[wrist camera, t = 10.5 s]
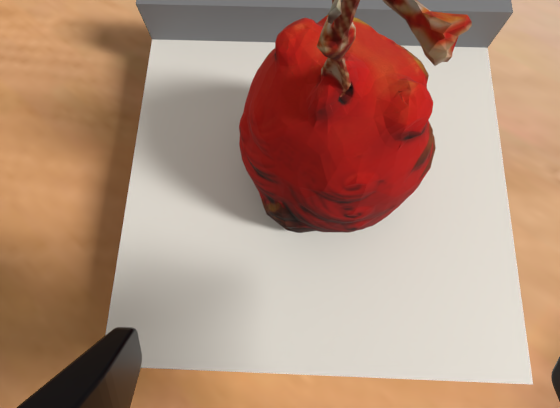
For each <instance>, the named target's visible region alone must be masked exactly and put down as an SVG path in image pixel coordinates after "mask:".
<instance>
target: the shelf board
mask: <svg viewBox="0 0 560 408" xmlns="http://www.w3.org/2000/svg"><path fill="white" fill-rule="evenodd" d="M417 1H418V2H420V3H421V4H422V5H423V6H425V7H426V8H427V9H429V10H430V11H433V12H442V13H451V14H467V15H468V16H469V18H470V19H471V21H472V26H471V27H470V29H469V30H468V31H466V32H464V33H463V34H461V35H459V37H458V39H457V42H456V44H455V47H454V50H453V52H452V57H451V59H450V60H449V61H448V62H441V63H440V64H438V65H436V66H434V65H433V64H432V62H431V61H430V60H429V59H428V58H427V57H426V56H425V54H424V52H423V49H422V47H421V45H420V43H419V41H418V40H417V38H416V37H415V35H414V34H413V32H412V31H411V29H410V27H409V26H408V24H407V22H406V20H405V19H403V18H402V17H401V16H400V15H398V14H397V13H396V12H395V11H394V10H392V9H391V8H390V7H389V6H387V5H386V4H385V3H384V2H383V1H382V0H360V2H359V5H358V7H357V10H356V13H355V16H354V17H355V18H358V19H360V20H362V21H363V22H365V23H367V24H368V25H370V26H371V27H372V28H373V29H374V30H375V31H376V32H378V33H379V34H381V35H384V36H385V37H387V38H388V39H391V40H393V41H394V42H395V43H396V44H398V45H400V46H402V47H404V48H405V49H407V50H408V51H409V52H411V53H412V54H413V55H414V56H415V57H417V58H418V59H419V60H420V61H421V62H422V64H423V65H424V67H425V69H426V71H427V72H428V74H429V77H428V81H427V90H428V91H429V93H430V95H431V98H432V100H433V109H432V114H431V116H430V118H429V123H430V125H431V127H432V129H433V135H434V139H435V147H436V149H435V153H434V156H433V160H432V164H431V168H430V170H429V171H428V172H427V174H426V175H425V177H424V178H423V180H422V182H421V183H420V185H419V187H418V188H417V189H416V190H415V191H414V193H412V194H411V195H410V196H409V197H408V198H407V199H406V200H405V201H404V202H403V203H402V204H401V205H400V206H399V207H398V208H396V209H395V210H394V211H393V212H392V213H391V214H390V215H388V216H387V217H386V218H384V219H383V220H381V221H380V222H378V223H377V224H375V225H373V226H370V227H367V228H365V229H362V230H357V231H354V232H349V233H345V232H319V231H311V232H304V233H296V232H292V231H288V230H286V229H285V228H283V227H282V226H281V225H279V224H278V223H277V222H276V221H274V220H273V219H272V218H271V217H269V216H268V215H267V214H266V212H265V209H264V207H263V203H262V200H261V197H260V194H259V191H258V190H257V188H256V186H255V184H254V183H253V181H252V179H251V177H250V176H249V174H248V172H247V171H246V168H245V166H244V163H243V161H242V156H241V151H240V146H239V141H240V131H239V124H240V119H241V117H242V115H243V112H244V107H245V102H246V99H247V95H248V92H249V89H250V86H251V83H252V80H253V78H254V76H255V74H256V72H257V70H258V69H259V67H260V66H261V64H262V63H263V62H264V60H265V58H266V57H267V56H268V54H269V53H270V52H271V51H272V50H273V49H275V41H276V38H277V36H278V34H279V33H280V32H281V31H282V30H283V29H284V28H285V27H286V26H288V25H289V24H291V23H293V22H295V21H297V20H300V19H302V18H308V19H312V20H314V21H315V22H316V23H318V22H319V21H320V20H322V19H323V18H324V17H325V16H327V15H328V13H329V11H330V8H331V6H332V0H136V5H137V7H138V10H139V12H140V14H141V16H142V18H143V21H144V23H145V25H146V27H147V29H148V31H149V34H150V36H151V38H152V44H151V50H150V56H149V62H148V69H147V75H146V81H145V88H144V94H143V100H142V107H141V113H140V119H139V126H138V132H137V138H136V145H135V151H134V157H133V164H132V170H131V176H130V183H129V189H128V195H127V202H126V208H125V214H124V221H123V227H122V233H121V240H120V246H119V252H118V258H117V265H116V271H115V277H114V284H113V290H112V296H111V303H110V309H109V315H108V322H107V328H106V334H105V335H107V334H108V333H109V332H110V331H112V330H113V329H114V328H116V327H133V328H135V329H136V330H137V332H138V337H139V342H140V347H141V352H142V364H141V368H160V369H184V370H207V371H231V372H254V373H278V374H301V375H324V376H348V377H371V378H395V379H418V380H442V381H465V382H489V383H512V384H533V381H532V373H531V366H530V359H529V351H528V344H527V336H526V329H525V322H524V314H523V307H522V299H521V292H520V285H519V277H518V270H517V262H516V255H515V248H514V240H513V233H512V225H511V218H510V211H509V203H508V196H507V188H506V181H505V174H504V166H503V159H502V151H501V144H500V137H499V129H498V122H497V114H496V107H495V100H494V92H493V85H492V77H491V70H490V63H489V55H488V46H489V45H490V44H491V42H492V41H493V39H494V38H495V37H496V35H497V34H498V32H499V31H500V30H501V28H502V27H503V26H504V24H505V23H506V21H507V20H508V19H509V17H510V16H511V14H512V13H513V10H512V4H511V0H417Z"/></svg>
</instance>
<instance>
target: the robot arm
mask: <svg viewBox="0 0 560 408" xmlns="http://www.w3.org/2000/svg"><path fill="white" fill-rule="evenodd" d="M141 364H142V352H141V347H140V342H139V337H138V332H137V330H136V329H135V328H133V327H116V328H114V329H113V330H112V331H110V332H109V333H108V334H107V335H105V336H104V337H103V338H102V339H101V340H99V341H98V342H97V343H96V344H94V345H93V346H92V347H91V348H89V349H88V350H87V351H86V352H84V353H83V354H82V355H81V356H80V357H78V358H77V359H76V360H75V361H73V362H72V363H71V364H70V365H68V366H67V367H66V368H65V369H63V370H62V371H61V372H60V373H59V374H57V375H56V376H55V377H54V378H52V379H51V380H50V381H49V382H47V383H46V384H45V385H44V386H43V387H41V388H40V389H39V390H38V391H36V392H35V393H34V394H33V395H31V396H30V397H29V398H28V399H26V400H25V401H24V402H23V403H22V404H20V405H19V406H18V407H17V408H130V405H131V401H132V398H133V394H134V390H135V387H136V383H137V379H138V376H139V372H140V368H141ZM552 383H553V386H554V389H555V391H556V394H557V396H558V399H559V401H560V357H559V359H558V361H557V363H556V365H555V367H554V369H553V371H552Z"/></svg>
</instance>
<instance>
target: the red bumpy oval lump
mask: <svg viewBox="0 0 560 408" xmlns="http://www.w3.org/2000/svg"><path fill="white" fill-rule="evenodd" d="M382 1H383V2H384V3H385V4H386V5H387V6H389V7H390V8H391V9H392V10H394V11H395V12H396V13H397V14H398V15H400V16H401V17H402V18H403V19H405V20H406V22H407V24H408V26H409V27H410V29H411V31H412V32H413V34H414V35H415V37H416V38H417V40H418V41H419V43H420V45H421V47H422V49H423V52H424V54H425V56H426V57H427V58H428V59H429V60H430V61H431V62H432V64H433V65H434V66H436V65H438V64H440V63H441V62H448V61H449V60H450V59H451V57H452V52H453V50H454V47H455V44H456V42H457V39H458V37H459V35H461V34H463V33H464V32H466V31H468V30H469V29H470V27H471V26H472V21H471V19H470V18H469V16H468V15H467V14H451V13H442V12H433V11H430V10H429V9H427V8H426V7H425V6H423V5H422V4H421V3H420V2H418V1H417V0H382ZM359 2H360V0H332V6H331V8H330V11H329V13H328V15H327V16H325V17H324V18H323V19H322V20H320V21H319V22H318V23H316V22H315V21H314V20H312V19H308V18H302V19H300V20H297V21H295V22H293V23H291V24H289V25H288V26H286V27H285V28H284V29H283V30H282V31H281V32H280V33H279V34H278V36H277V38H276V41H275V49H273V50H272V51H271V52H270V53H269V54H268V56H267V57H266V58H265V60H264V62H263V63H262V64H261V66H260V67H259V69H258V70H257V72H256V74H255V76H254V78H253V80H252V83H251V86H250V89H249V92H248V95H247V99H246V102H245V107H244V112H243V115H242V117H241V119H240V124H239V131H240V141H239V146H240V151H241V156H242V161H243V163H244V166H245V168H246V171H247V172H248V174H249V176H250V177H251V179H252V181H253V183H254V184H255V186H256V188H257V190H258V191H259V194H260V197H261V200H262V203H263V207H264V209H265V212H266V214H267V215H268V216H269V217H271V218H272V219H273V220H274V221H276V222H277V223H278V224H279V225H281V226H282V227H283V228H285V229H286V230H288V231H292V232H296V233H304V232H311V231H319V232H345V233H349V232H354V231H357V230H362V229H365V228H367V227H370V226H373V225H375V224H377V223H378V222H380V221H381V220H383V219H384V218H386V217H387V216H388V215H390V214H391V213H392V212H393V211H394V210H395V209H396V208H398V207H399V206H400V205H401V204H402V203H403V202H404V201H405V200H406V199H407V198H408V197H409V196H410V195H411V194H412V193H414V191H415V190H416V189H417V188H418V187H419V185H420V183H421V182H422V180H423V178H424V177H425V175H426V174H427V172H428V171H429V170H430V168H431V164H432V160H433V156H434V153H435V149H436V147H435V139H434V135H433V129H432V127H431V125H430V123H429V118H430V116H431V114H432V109H433V100H432V98H431V95H430V93H429V91H428V90H427V81H428V77H429V74H428V72H427V71H426V69H425V67H424V65H423V64H422V62H421V61H420V60H419V59H418V58H417V57H415V56H414V55H413V54H412V53H411V52H409V51H408V50H407V49H405V48H404V47H402V46H400V45H398V44H396V43H395V42H394V41H393V40H391V39H388V38H387V37H385V36H384V35H381V34H379V33H378V32H376V31H375V30H374V29H373V28H372V27H371V26H370V25H368V24H367V23H365V22H363V21H362V20H360V19H358V18H355V17H354V16H355V13H356V10H357V7H358V5H359Z"/></svg>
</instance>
